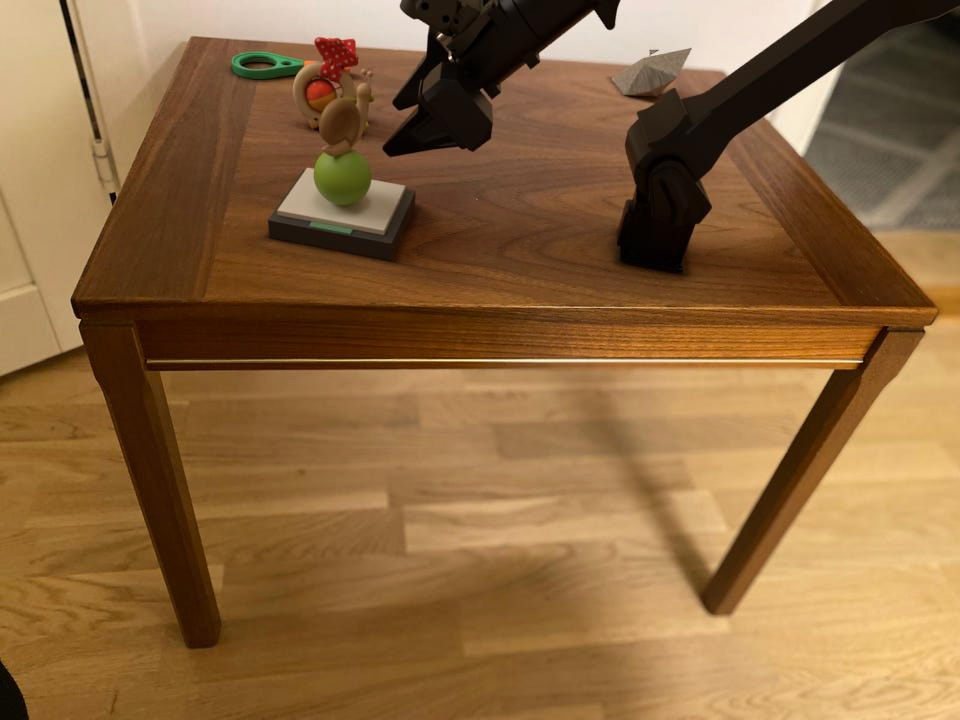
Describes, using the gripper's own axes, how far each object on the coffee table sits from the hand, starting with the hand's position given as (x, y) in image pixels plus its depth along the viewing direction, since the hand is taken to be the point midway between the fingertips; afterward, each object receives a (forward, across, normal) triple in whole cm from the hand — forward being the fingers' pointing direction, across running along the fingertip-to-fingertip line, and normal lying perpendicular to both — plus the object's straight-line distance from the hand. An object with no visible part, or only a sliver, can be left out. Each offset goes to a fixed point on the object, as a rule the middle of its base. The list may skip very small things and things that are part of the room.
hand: (390, 128), depth 68 cm
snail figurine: (+9, 0, +3) cm, 9 cm away
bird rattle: (+13, -20, +2) cm, 24 cm away
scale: (+10, 0, +4) cm, 11 cm away
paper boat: (-16, -42, +32) cm, 55 cm away
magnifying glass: (+19, -34, -4) cm, 39 cm away
